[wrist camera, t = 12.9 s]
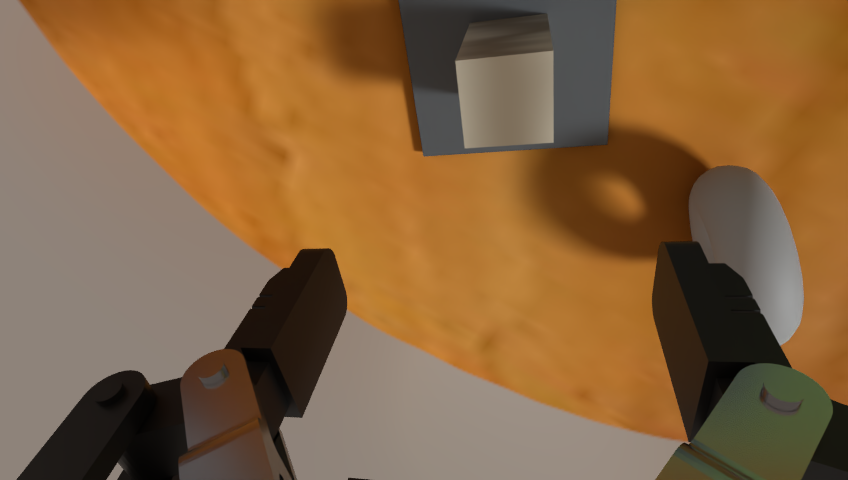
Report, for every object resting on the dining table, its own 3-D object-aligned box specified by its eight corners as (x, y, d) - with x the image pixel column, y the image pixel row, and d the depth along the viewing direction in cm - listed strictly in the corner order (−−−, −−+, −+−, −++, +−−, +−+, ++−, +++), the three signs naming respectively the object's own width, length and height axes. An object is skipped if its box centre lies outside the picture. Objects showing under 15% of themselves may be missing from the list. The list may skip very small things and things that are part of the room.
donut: (671, 144, 29) (726, 243, 21) (738, 127, 28) (823, 225, 20) (689, 273, 34) (740, 394, 26) (747, 263, 33) (818, 386, 25)
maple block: (547, 13, 26) (553, 50, 20) (547, 90, 28) (553, 142, 22) (469, 22, 27) (455, 61, 21) (476, 96, 29) (464, 148, 23)
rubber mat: (619, -77, 24) (621, -76, 23) (606, 140, 30) (607, 144, 29) (394, -42, 26) (391, -41, 26) (425, 152, 32) (423, 156, 32)
